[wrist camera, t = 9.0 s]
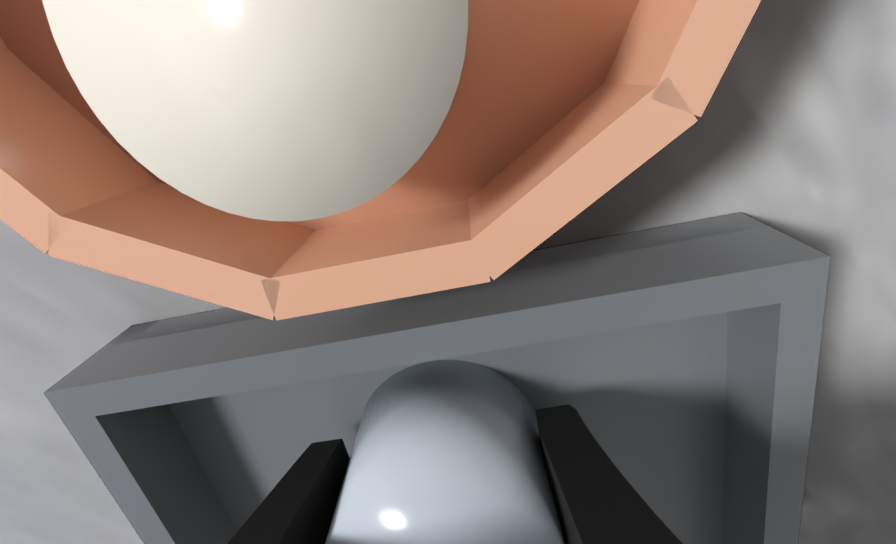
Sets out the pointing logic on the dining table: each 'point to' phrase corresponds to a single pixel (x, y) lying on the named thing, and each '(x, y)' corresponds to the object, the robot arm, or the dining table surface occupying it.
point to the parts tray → (504, 350)
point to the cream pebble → (268, 93)
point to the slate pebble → (446, 463)
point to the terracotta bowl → (411, 197)
